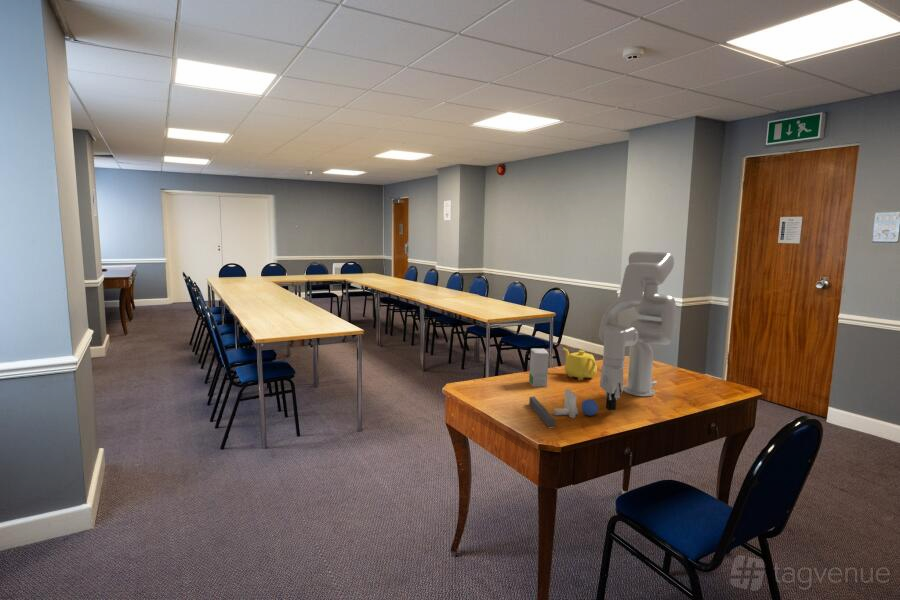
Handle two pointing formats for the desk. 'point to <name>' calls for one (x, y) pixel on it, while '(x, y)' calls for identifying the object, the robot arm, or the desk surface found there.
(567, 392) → the back right pin
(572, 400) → the back left pin
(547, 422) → the bar
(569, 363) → the teapot
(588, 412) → the ball
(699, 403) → the desk surface
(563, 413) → the front pin
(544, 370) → the skincare box
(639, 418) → the desk surface
